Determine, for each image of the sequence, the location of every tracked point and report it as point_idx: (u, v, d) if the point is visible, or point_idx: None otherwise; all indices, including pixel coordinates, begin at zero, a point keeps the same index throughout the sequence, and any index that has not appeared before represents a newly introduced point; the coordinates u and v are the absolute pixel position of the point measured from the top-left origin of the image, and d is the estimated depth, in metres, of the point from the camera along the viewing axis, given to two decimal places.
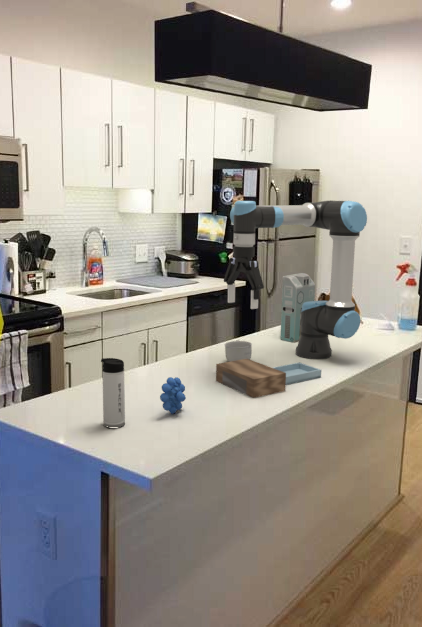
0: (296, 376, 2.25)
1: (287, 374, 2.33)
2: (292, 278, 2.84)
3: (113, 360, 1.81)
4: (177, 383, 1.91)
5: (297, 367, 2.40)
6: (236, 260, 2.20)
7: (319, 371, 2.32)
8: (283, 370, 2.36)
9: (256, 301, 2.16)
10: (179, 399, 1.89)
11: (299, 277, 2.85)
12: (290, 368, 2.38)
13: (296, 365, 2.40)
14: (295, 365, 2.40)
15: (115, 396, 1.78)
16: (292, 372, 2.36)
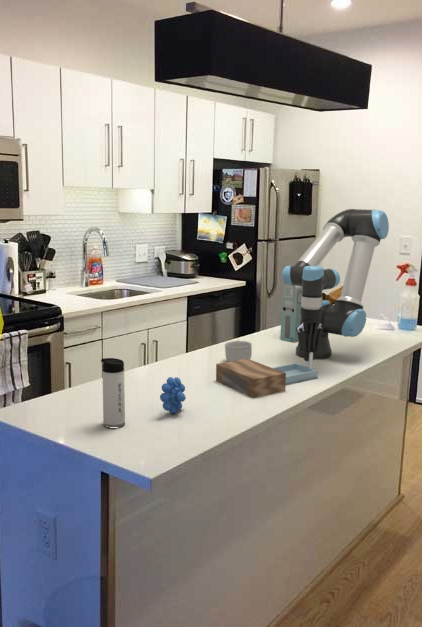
0: (293, 377, 2.24)
1: None
2: None
3: (113, 360, 1.81)
4: (177, 383, 1.91)
5: (294, 368, 2.39)
6: None
7: (316, 372, 2.31)
8: None
9: (308, 363, 2.35)
10: (179, 399, 1.89)
11: None
12: (286, 368, 2.37)
13: (293, 366, 2.39)
14: (292, 366, 2.39)
15: (115, 396, 1.78)
16: (289, 373, 2.35)
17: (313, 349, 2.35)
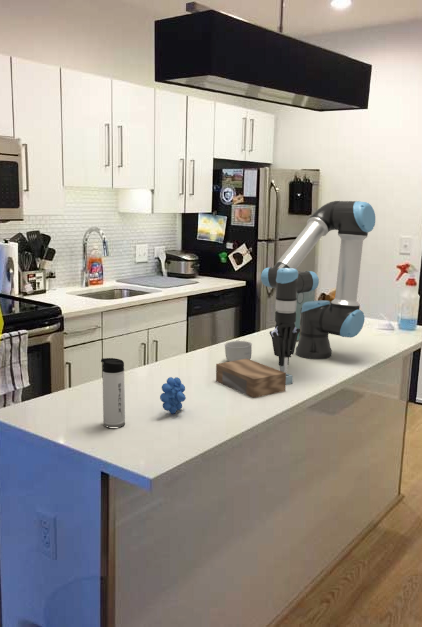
0: None
1: None
2: None
3: (113, 360, 1.81)
4: (177, 383, 1.91)
5: None
6: None
7: (290, 377, 2.24)
8: None
9: (283, 368, 2.28)
10: (179, 399, 1.89)
11: None
12: None
13: None
14: None
15: (115, 396, 1.78)
16: None
17: (288, 354, 2.28)
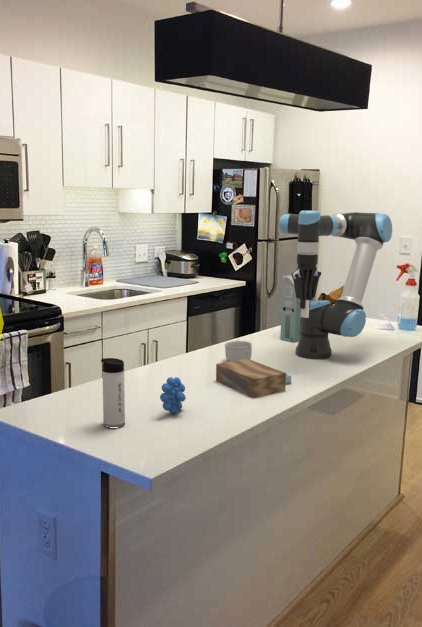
0: None
1: None
2: (292, 278, 2.84)
3: (113, 360, 1.81)
4: (177, 383, 1.91)
5: None
6: None
7: (289, 377, 2.23)
8: None
9: (304, 311, 2.29)
10: (179, 399, 1.89)
11: None
12: None
13: None
14: None
15: (115, 396, 1.78)
16: None
17: (309, 296, 2.29)
